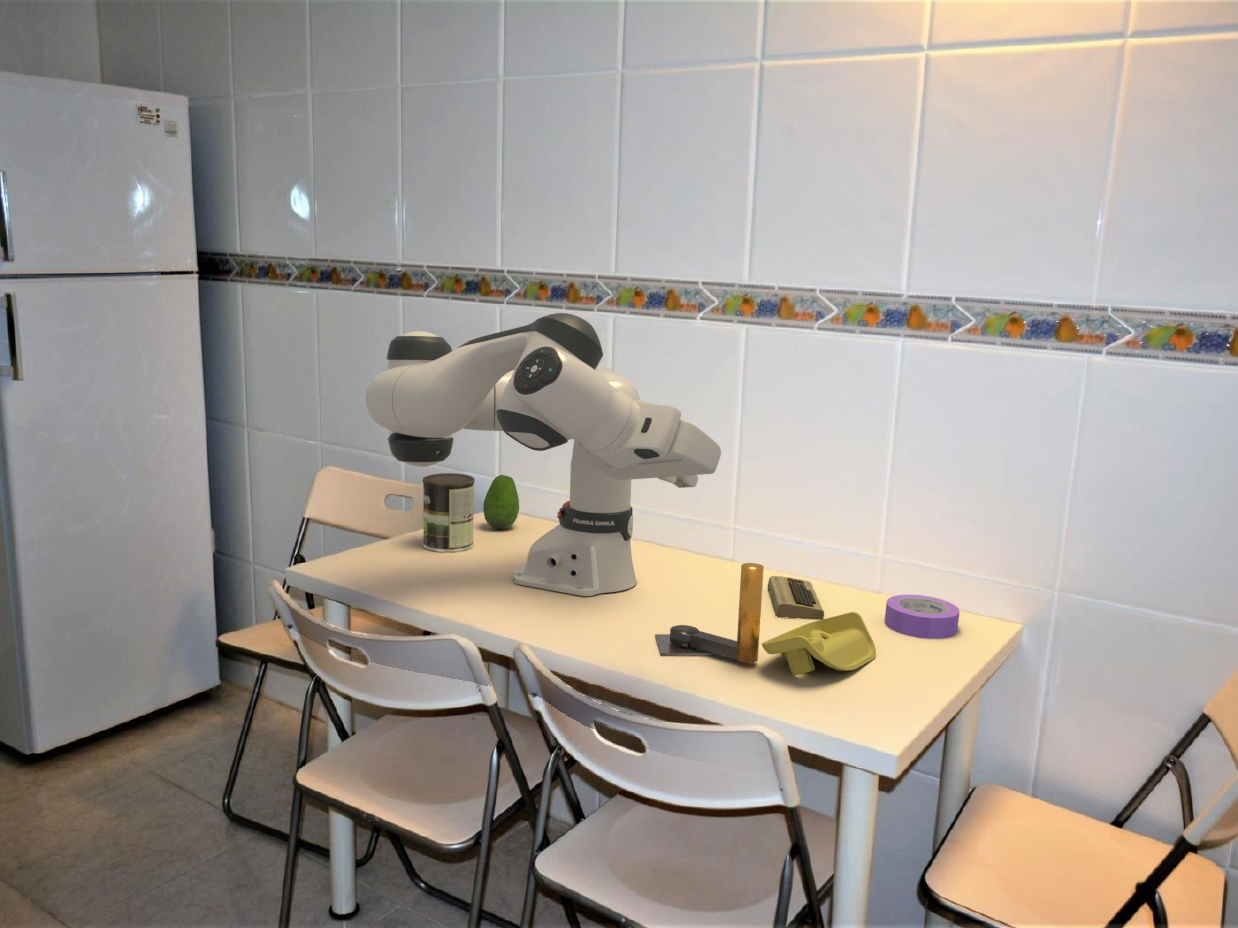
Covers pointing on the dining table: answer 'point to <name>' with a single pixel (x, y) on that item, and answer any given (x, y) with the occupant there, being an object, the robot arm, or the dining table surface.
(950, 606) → the masking tape
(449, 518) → the coffee can
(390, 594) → the dining table surface
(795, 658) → the plastic component
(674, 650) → the pivot plate
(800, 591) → the computer
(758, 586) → the crank handle
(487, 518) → the avocado
